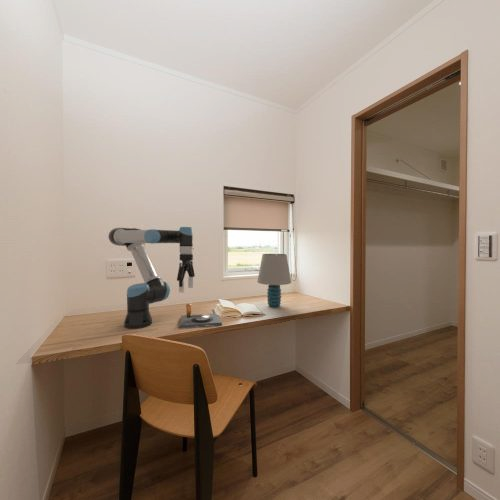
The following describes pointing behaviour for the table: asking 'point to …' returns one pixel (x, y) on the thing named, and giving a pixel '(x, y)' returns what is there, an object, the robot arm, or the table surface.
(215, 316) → the panel
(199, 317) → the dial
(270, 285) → the lamp
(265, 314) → the table surface
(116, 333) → the table surface
